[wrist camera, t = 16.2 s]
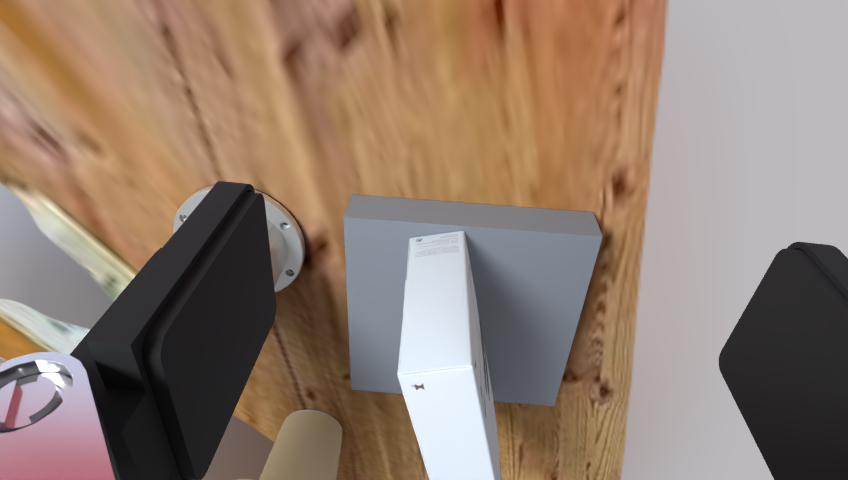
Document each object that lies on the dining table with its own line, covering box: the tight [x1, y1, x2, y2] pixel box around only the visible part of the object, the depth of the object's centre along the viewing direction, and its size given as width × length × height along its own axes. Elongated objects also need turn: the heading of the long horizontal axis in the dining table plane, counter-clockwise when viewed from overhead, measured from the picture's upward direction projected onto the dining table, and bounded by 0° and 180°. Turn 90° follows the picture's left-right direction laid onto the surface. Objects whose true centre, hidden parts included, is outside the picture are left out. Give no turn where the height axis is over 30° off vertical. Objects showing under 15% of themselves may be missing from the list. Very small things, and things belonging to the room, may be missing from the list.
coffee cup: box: [259, 410, 342, 480], centre depth 63 cm, size 9×9×12 cm
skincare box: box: [397, 231, 502, 480], centre depth 44 cm, size 21×6×16 cm, turn 11°
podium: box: [344, 195, 603, 406], centre depth 53 cm, size 22×22×4 cm
